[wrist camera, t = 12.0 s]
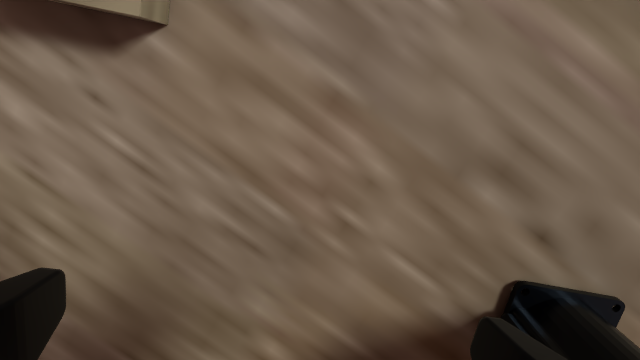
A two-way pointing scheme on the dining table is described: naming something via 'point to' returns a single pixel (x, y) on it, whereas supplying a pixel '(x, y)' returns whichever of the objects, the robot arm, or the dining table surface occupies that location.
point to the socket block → (127, 8)
